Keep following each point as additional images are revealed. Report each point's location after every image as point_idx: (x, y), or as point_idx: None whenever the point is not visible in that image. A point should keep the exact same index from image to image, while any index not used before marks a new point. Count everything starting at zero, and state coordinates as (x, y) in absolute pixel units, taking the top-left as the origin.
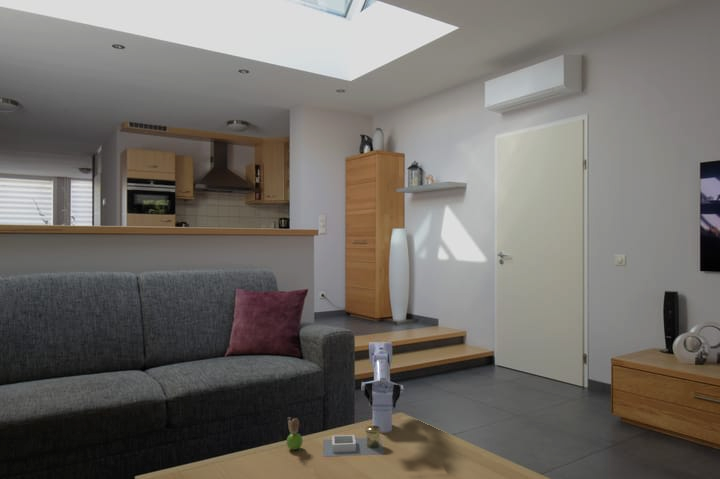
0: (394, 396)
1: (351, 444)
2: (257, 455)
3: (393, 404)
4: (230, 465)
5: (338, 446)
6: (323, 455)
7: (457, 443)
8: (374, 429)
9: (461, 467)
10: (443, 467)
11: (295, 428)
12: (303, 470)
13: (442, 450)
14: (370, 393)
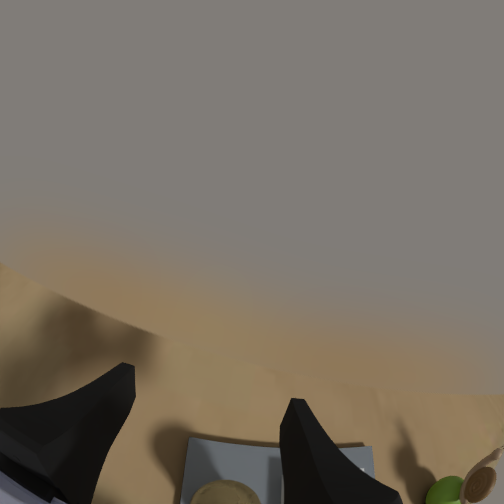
0: (103, 390)
1: None
2: (477, 457)
3: (134, 376)
4: (491, 416)
5: None
6: (371, 452)
7: None
8: (221, 493)
9: (30, 304)
10: (62, 320)
11: (472, 479)
12: (396, 398)
13: (5, 399)
14: (323, 441)
